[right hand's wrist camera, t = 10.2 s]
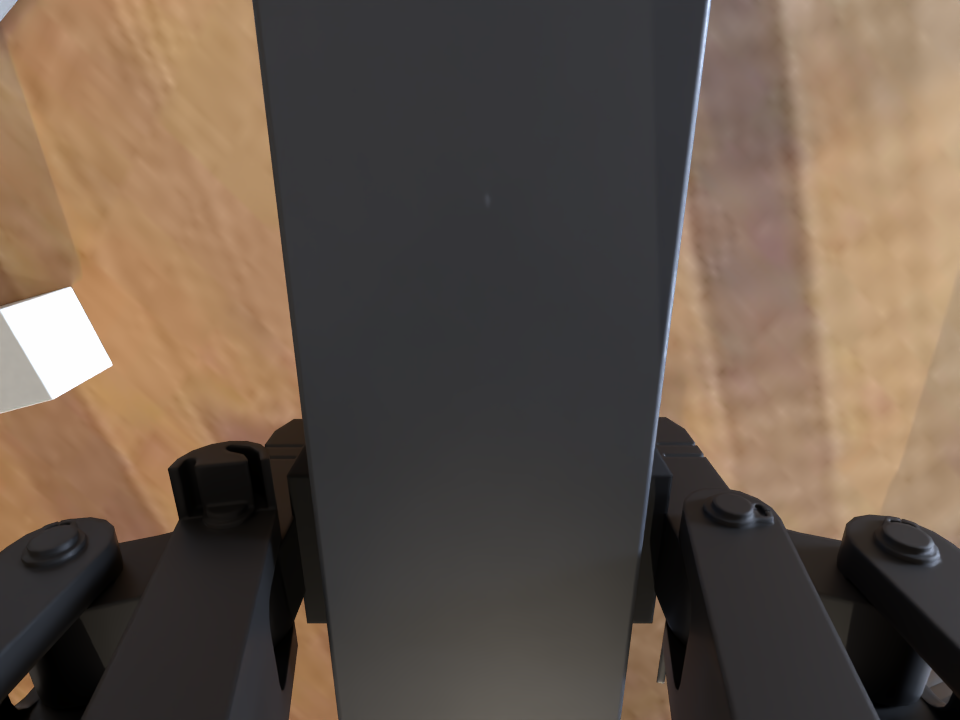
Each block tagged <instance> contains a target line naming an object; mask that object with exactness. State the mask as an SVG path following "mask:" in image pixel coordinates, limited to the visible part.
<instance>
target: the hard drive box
mask: <svg viewBox="0 0 960 720" xmlns="http://www.w3.org/2000/svg"><path fill="white" fill-rule="evenodd" d="M17 1H18V0H0V21H1V20H2V19H3V18H4V16H5V15H6V14H7V13H8V12H9V10H10V9H11V8H12V7H13V5H14V4H15V3H16V2H17Z"/></svg>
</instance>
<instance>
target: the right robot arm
mask: <svg viewBox="0 0 960 720" xmlns="http://www.w3.org/2000/svg"><path fill="white" fill-rule="evenodd" d="M168 472H169V476H170V481H171V485H172V490H173V494H174V498H175V503H176V507H177V512H178V516H179V521H178V523H177V525H176V527H175V529H174V531H173V532H170V533H166V534H162V535H158V536H153V537H148V538H143V539H138V540H133V541H128V542H123V543H118V540H117V536H116V533H115V529H114V526H113V525H111V524H110V523H109V522H108V521H106V520H104V519H98V518H92V517H89V518H77V519H67V520H62V521H61V522H55V523H51V524H48V525H46V526H44V527H43V528H41V529H38V530H36V531H34V532H31V533H29V534H27V535H25V536H23V537H22V538H20V539H19V540H17V541H16V542H14V543H12V544H11V545H9V546H8V547H6V548H5V549H4V550H3V551H1V552H0V720H289V712H290V704H291V696H292V688H293V680H294V672H295V664H296V656H297V648H298V643H297V636H296V629H295V622H294V620H295V617H296V615H297V612H298V610H299V607H300V605H301V602H302V600H303V597H304V603H305V610H306V618H307V623H327V619H326V611H325V603H324V594H323V586H322V578H321V569H320V561H319V553H318V544H317V536H316V528H315V519H314V511H313V503H312V494H311V486H310V478H309V469H308V461H307V452H306V444H305V436H304V427H303V419H293V420H292V421H290V422H289V423H287V424H285V425H284V426H282V427H281V428H279V429H277V430H276V431H275V432H274V433H273V435H272V436H271V437H270V439H269V440H268V441H267V443H266V444H265V447H264V446H262V445H261V444H257V443H253V442H249V441H228V442H222V443H216V444H211V445H208V446H205V447H202V448H199V449H196V450H193V451H191V452H189V453H187V454H186V455H184V456H182V457H180V458H178V459H177V460H176V461H175V462H174V463H173V464H172V465H171V466H170V467H169V468H168ZM656 595H657V598H658V600H659V603H660V605H661V608H662V610H663V613H664V615H665V618H666V622H665V629H664V636H663V642H662V649H661V655H660V662H659V669H658V676H657V682H658V683H664V682H665V676H666V679H667V687H668V695H669V703H670V711H671V719H672V720H960V549H959V548H958V547H956V546H955V545H954V544H952V543H951V542H949V541H948V540H946V539H944V538H943V537H941V536H940V535H938V534H937V533H935V532H933V531H931V530H928V529H926V528H924V527H921V526H919V525H918V524H916V523H914V522H911V521H908V520H905V519H902V520H901V519H900V518H897V517H891V516H879V515H865V516H859V517H854V518H853V519H852V520H851V521H849V522H848V523H847V524H846V527H845V531H844V534H843V538H842V541H840V540H835V539H830V538H825V537H820V536H814V535H809V534H804V533H799V532H795V531H792V530H788V529H786V528H785V526H784V524H783V522H782V520H781V518H780V517H779V516H778V515H777V514H776V512H775V511H774V510H773V509H772V508H771V507H770V506H768V505H767V504H765V503H764V502H762V501H761V500H759V499H758V498H755V497H753V496H750V495H748V494H745V493H743V492H740V491H735V490H730V489H729V488H728V486H727V485H726V484H725V482H724V481H723V480H722V478H721V477H720V476H719V474H718V473H717V472H716V470H715V469H714V468H713V466H712V465H711V464H710V462H709V461H708V460H707V458H706V457H704V456H703V453H702V452H701V450H700V449H699V447H698V446H697V445H695V442H694V441H693V439H692V438H691V437H690V435H689V434H688V433H687V431H686V430H685V429H684V428H682V427H681V426H679V425H677V424H676V423H674V422H673V421H671V420H669V419H668V418H666V417H659V418H658V426H657V434H656V442H655V450H654V458H653V466H652V474H651V482H650V490H649V498H648V505H647V513H646V521H645V529H644V537H643V545H642V553H641V561H640V569H639V577H638V585H637V593H636V601H635V609H634V616H633V623H652V622H653V615H654V608H655V600H656ZM28 672H29V674H30V676H31V679H32V682H33V684H34V688H33V689H32V690H31V691H30V692H29V693H28V695H27V696H26V697H25V698H24V699H22V700H21V701H20V702H19V703H18V704H16V705H15V706H14V705H13V704H12V703H11V701H10V699H9V696H8V694H9V693H10V692H11V691H12V690H13V689H14V688H15V687H16V685H17V684H18V683H19V682H20V681H21V680H22V679H23V678H24V677H25V676H26V675H27V673H28Z"/></svg>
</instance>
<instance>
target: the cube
mask: <svg viewBox="0 0 960 720" xmlns="http://www.w3.org/2000/svg"><path fill="white" fill-rule="evenodd" d="M111 366H112V362H111V360H110V359H109V357H108V355H107V353H106V351H105V349H104V347H103V346H102V344H101V342H100V340H99V338H98V336H97V334H96V332H95V331H94V329H93V327H92V325H91V323H90V321H89V319H88V317H87V316H86V314H85V312H84V310H83V308H82V306H81V304H80V303H79V301H78V299H77V297H76V295H75V293H74V291H73V289H72V288H71V287H66V288H63V289H59V290H55V291H52V292H48V293H45V294H41V295H38V296H34V297H31V298H27V299H24V300H20V301H17V302H13V303H10V304H6V305H3V306H0V413H4V412H8V411H12V410H15V409H19V408H23V407H27V406H30V405H34V404H38V403H42V402H46V401H49V400H53V399H55V398H57V397H59V396H60V395H62V394H64V393H65V392H67V391H69V390H71V389H72V388H74V387H76V386H78V385H79V384H81V383H83V382H85V381H86V380H88V379H90V378H92V377H93V376H95V375H97V374H99V373H100V372H102V371H104V370H105V369H107V368H109V367H111Z"/></svg>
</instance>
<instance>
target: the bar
mask: <svg viewBox="0 0 960 720" xmlns="http://www.w3.org/2000/svg"><path fill="white" fill-rule="evenodd" d="M252 2H253V10H254V18H255V27H256V35H257V43H258V52H259V60H260V68H261V77H262V85H263V94H264V102H265V110H266V119H267V127H268V135H269V144H270V152H271V160H272V169H273V177H274V185H275V194H276V202H277V210H278V219H279V227H280V235H281V244H282V252H283V260H284V269H285V277H286V286H287V294H288V302H289V311H290V319H291V327H292V336H293V344H294V352H295V361H296V369H297V377H298V386H299V394H300V402H301V411H302V419H303V427H304V436H305V444H306V452H307V461H308V469H309V478H310V486H311V494H312V503H313V511H314V519H315V528H316V536H317V544H318V553H319V561H320V569H321V578H322V586H323V594H324V603H325V611H326V619H327V628H328V636H329V645H330V653H331V661H332V670H333V678H334V686H335V695H336V703H337V711H338V720H620V719H621V712H622V704H623V696H624V688H625V680H626V672H627V664H628V656H629V648H630V640H631V632H632V624H633V616H634V609H635V601H636V593H637V585H638V577H639V569H640V561H641V553H642V545H643V537H644V529H645V521H646V513H647V505H648V498H649V490H650V482H651V474H652V466H653V458H654V450H655V442H656V434H657V426H658V418H659V410H660V402H661V395H662V387H663V379H664V371H665V363H666V355H667V347H668V339H669V331H670V323H671V315H672V307H673V299H674V291H675V284H676V276H677V268H678V260H679V252H680V244H681V236H682V228H683V220H684V212H685V204H686V196H687V188H688V181H689V173H690V165H691V157H692V149H693V141H694V133H695V125H696V117H697V109H698V101H699V93H700V85H701V77H702V70H703V62H704V54H705V46H706V38H707V30H708V22H709V14H710V6H711V0H252Z"/></svg>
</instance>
